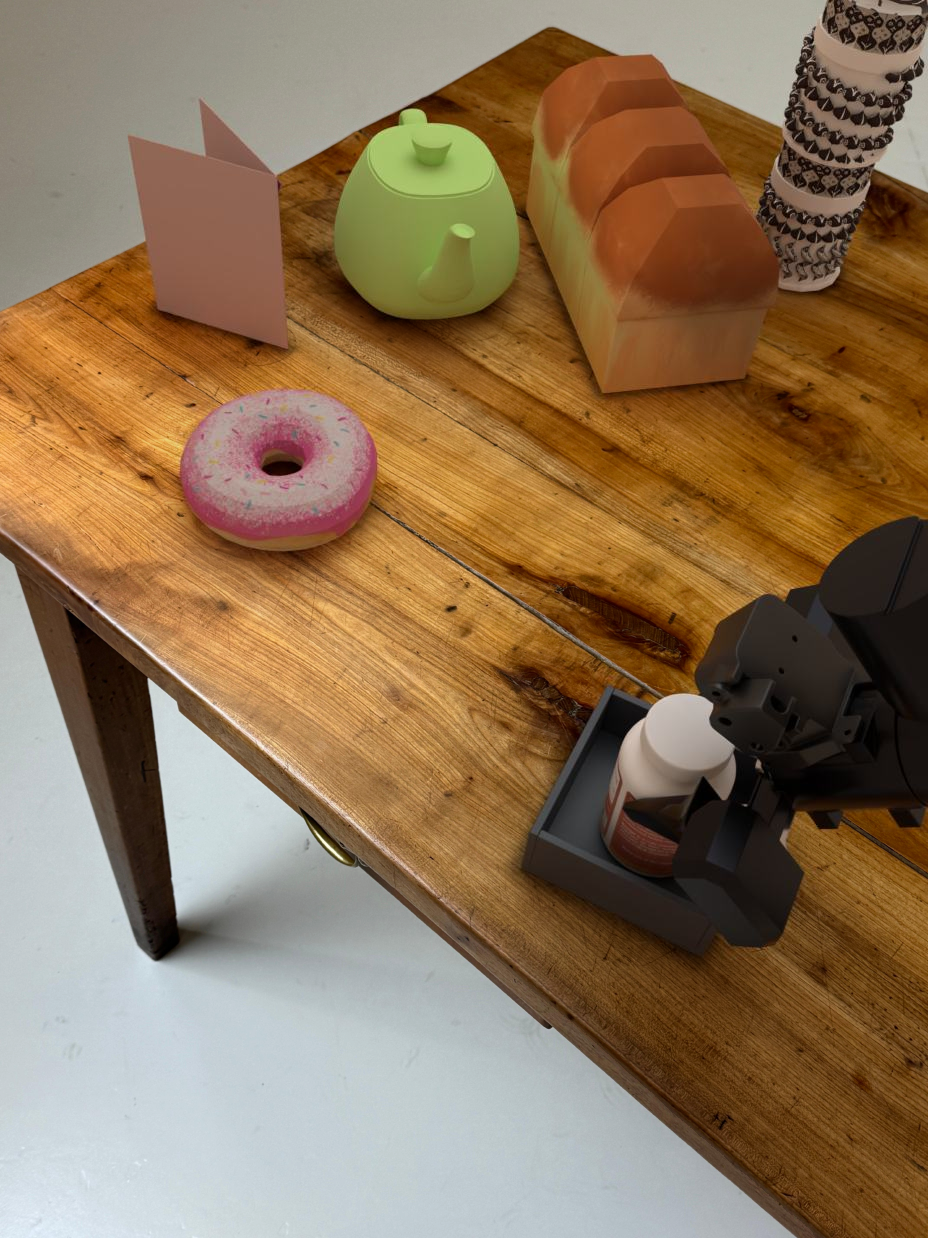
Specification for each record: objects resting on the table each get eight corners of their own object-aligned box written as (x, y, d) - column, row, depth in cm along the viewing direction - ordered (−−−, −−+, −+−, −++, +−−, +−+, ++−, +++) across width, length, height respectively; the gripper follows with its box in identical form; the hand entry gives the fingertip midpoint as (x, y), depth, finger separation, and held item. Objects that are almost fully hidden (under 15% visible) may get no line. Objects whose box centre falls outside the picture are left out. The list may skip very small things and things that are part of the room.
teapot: (547, 368, 93) (570, 224, 82) (358, 385, 90) (357, 238, 80) (486, 203, 105) (500, 60, 95) (319, 214, 103) (314, 68, 92)
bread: (750, 381, 93) (805, 219, 81) (600, 397, 91) (634, 232, 79) (652, 197, 108) (688, 36, 96) (521, 207, 105) (540, 43, 94)
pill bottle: (724, 858, 67) (776, 760, 59) (631, 897, 66) (670, 802, 57) (669, 770, 71) (710, 665, 62) (579, 806, 69) (608, 702, 60)
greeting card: (298, 345, 92) (288, 172, 80) (212, 377, 89) (189, 203, 77) (229, 266, 98) (209, 93, 86) (146, 294, 95) (114, 119, 83)
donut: (193, 578, 78) (184, 528, 74) (177, 437, 85) (167, 384, 81) (394, 552, 80) (395, 502, 76) (360, 417, 88) (360, 365, 84)
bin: (763, 801, 71) (784, 763, 67) (701, 958, 64) (720, 925, 61) (595, 724, 73) (607, 684, 69) (520, 868, 67) (529, 832, 63)
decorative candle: (831, 231, 106) (939, -63, 86) (854, 296, 101) (975, -1, 81) (732, 226, 106) (817, -70, 86) (750, 292, 100) (845, -9, 80)
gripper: (898, 473, 54) (634, 540, 65) (774, 788, 44) (486, 803, 55) (997, 642, 58) (734, 677, 70) (906, 965, 48) (614, 945, 59)
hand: (649, 763), depth 63 cm, fingers closed on pill bottle, 6 cm apart
